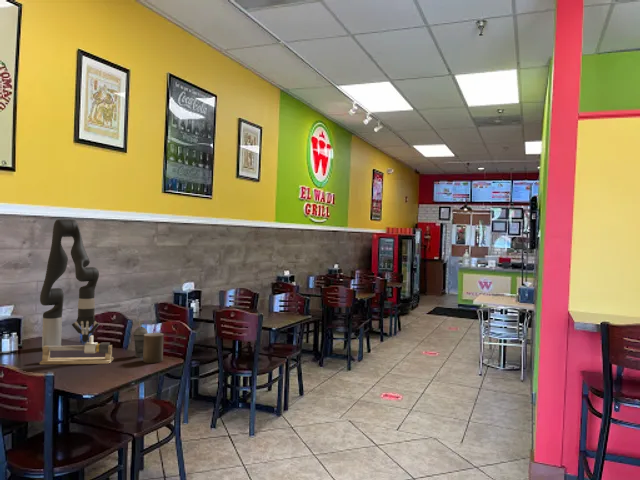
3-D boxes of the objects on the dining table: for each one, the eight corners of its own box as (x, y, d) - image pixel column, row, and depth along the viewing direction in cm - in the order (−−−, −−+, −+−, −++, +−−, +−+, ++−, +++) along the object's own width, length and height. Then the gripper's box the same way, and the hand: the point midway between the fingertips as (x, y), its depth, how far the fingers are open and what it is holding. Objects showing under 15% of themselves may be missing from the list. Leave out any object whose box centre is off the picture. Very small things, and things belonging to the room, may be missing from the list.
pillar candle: (159, 363, 245) (160, 333, 245) (140, 363, 244) (141, 333, 244) (164, 359, 255) (166, 330, 255) (146, 358, 254) (147, 329, 254)
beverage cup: (142, 358, 254) (143, 320, 254) (129, 357, 255) (131, 319, 255) (150, 355, 261) (151, 318, 261) (137, 354, 262) (138, 317, 262)
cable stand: (45, 360, 244) (46, 342, 244) (113, 359, 250) (113, 341, 250) (39, 364, 236) (40, 345, 236) (109, 363, 242) (110, 345, 242)
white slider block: (86, 351, 246) (87, 335, 246) (97, 351, 247) (98, 335, 247) (84, 353, 241) (84, 337, 241) (95, 353, 242) (95, 336, 242)
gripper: (102, 306, 248) (101, 340, 248) (74, 306, 246) (73, 340, 246) (98, 308, 241) (97, 343, 241) (69, 308, 238) (68, 343, 238)
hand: (85, 341), depth 243 cm, fingers closed
